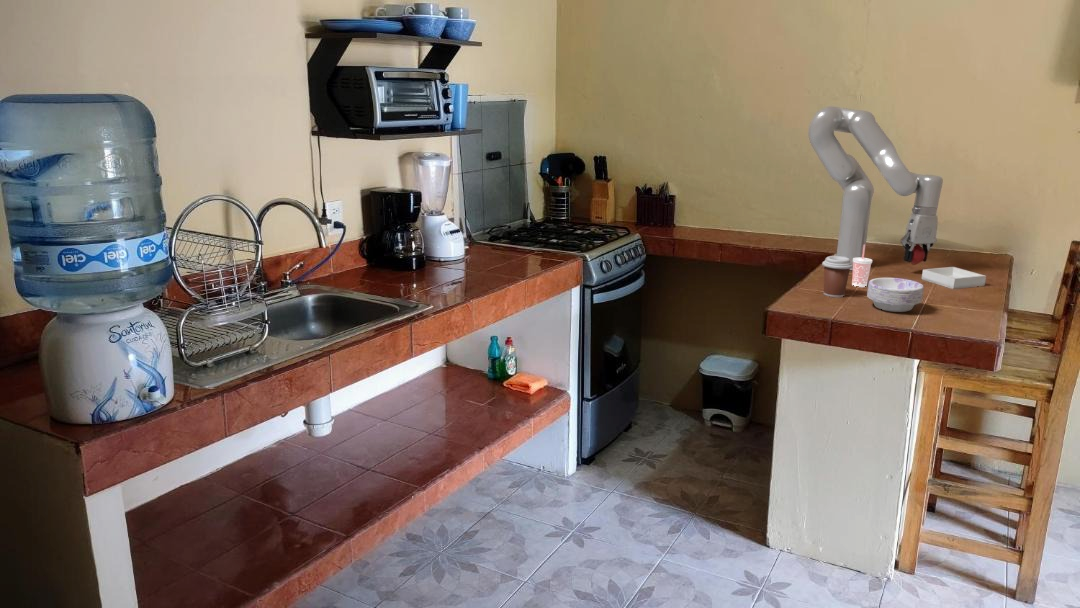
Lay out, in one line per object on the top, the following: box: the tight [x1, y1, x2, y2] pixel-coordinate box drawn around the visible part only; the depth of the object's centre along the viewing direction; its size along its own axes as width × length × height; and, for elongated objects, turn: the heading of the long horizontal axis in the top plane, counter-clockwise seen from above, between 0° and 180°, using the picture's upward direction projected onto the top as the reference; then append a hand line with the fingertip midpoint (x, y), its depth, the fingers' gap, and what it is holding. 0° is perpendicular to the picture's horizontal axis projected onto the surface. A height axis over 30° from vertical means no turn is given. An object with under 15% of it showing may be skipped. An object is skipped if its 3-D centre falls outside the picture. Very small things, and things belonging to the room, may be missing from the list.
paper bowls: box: [866, 277, 925, 313], centre depth 233 cm, size 15×15×8 cm
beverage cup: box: [851, 245, 873, 288], centre depth 258 cm, size 6×6×14 cm
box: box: [921, 266, 987, 290], centre depth 264 cm, size 14×14×4 cm
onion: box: [910, 244, 925, 266], centre depth 274 cm, size 6×6×8 cm
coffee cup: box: [821, 255, 853, 298], centre depth 247 cm, size 9×9×12 cm
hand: (914, 260), depth 275 cm, fingers closed on onion, 5 cm apart
